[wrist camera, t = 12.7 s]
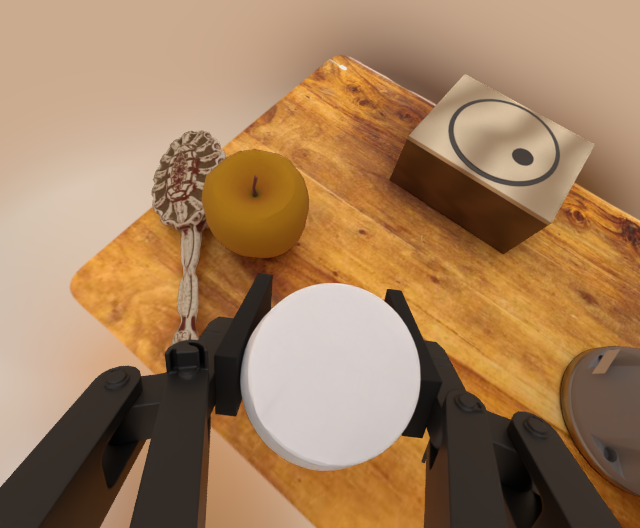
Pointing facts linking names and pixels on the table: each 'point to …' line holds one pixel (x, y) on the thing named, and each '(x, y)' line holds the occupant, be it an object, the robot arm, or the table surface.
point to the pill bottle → (330, 377)
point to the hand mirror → (186, 212)
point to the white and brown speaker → (491, 164)
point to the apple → (256, 203)
